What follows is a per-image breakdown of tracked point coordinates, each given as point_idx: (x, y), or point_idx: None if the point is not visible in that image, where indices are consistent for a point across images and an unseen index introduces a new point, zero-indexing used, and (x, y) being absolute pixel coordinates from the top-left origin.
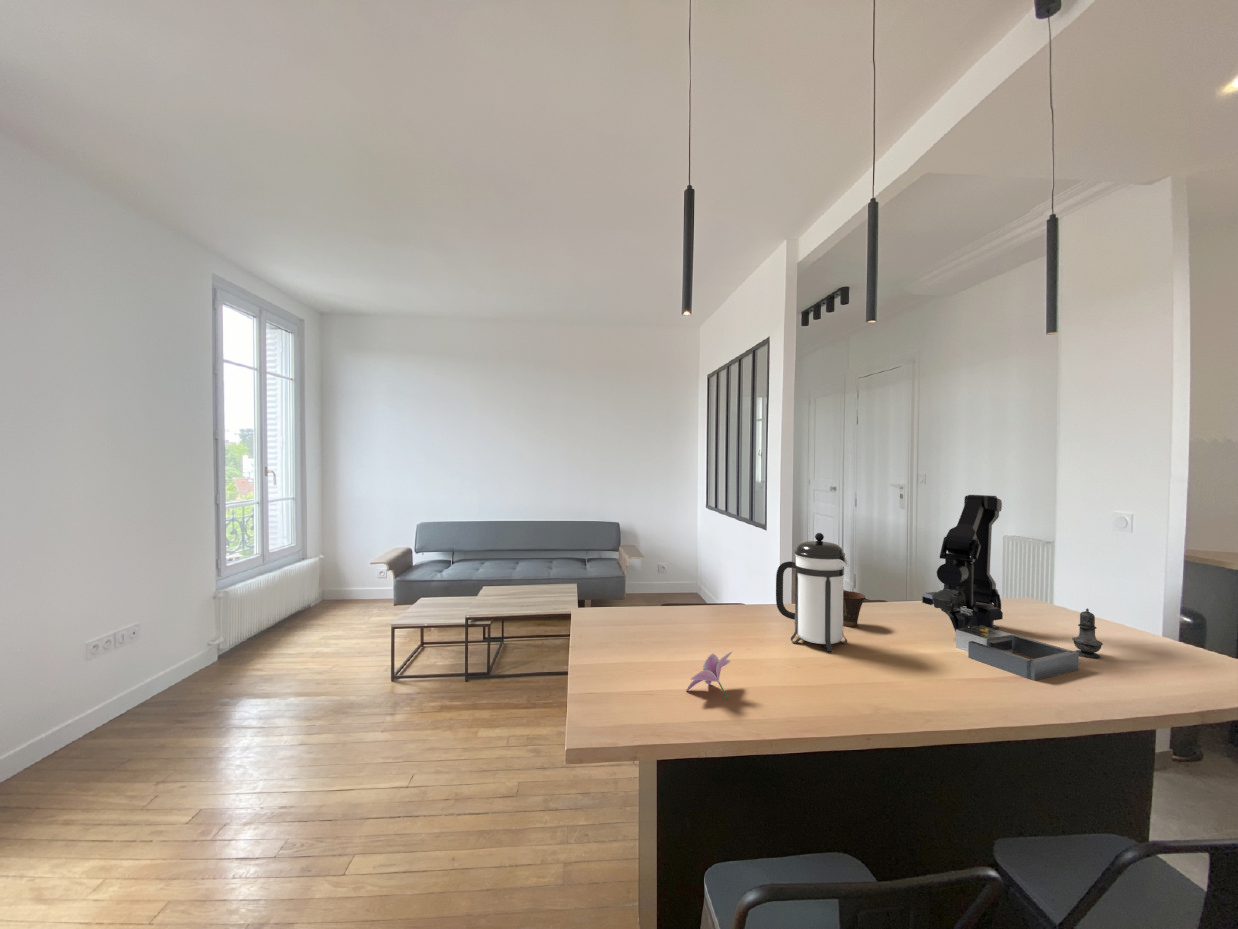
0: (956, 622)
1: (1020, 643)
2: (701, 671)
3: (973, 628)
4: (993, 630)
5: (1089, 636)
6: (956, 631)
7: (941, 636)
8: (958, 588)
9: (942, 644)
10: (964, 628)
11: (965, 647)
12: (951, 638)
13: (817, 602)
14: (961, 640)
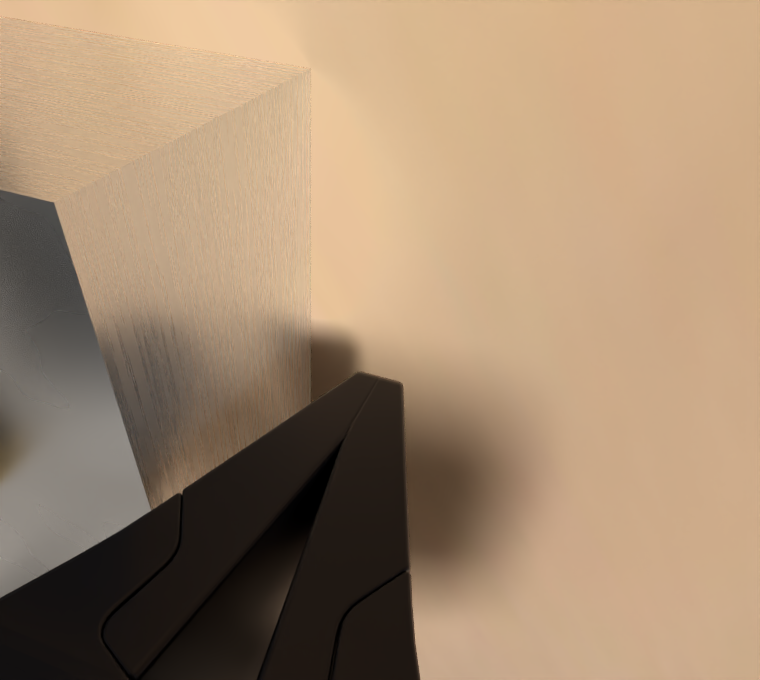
0: (284, 617)
1: None
2: None
3: (95, 539)
4: (2, 586)
5: None
6: (78, 173)
7: (722, 442)
8: None
9: (536, 5)
10: (113, 450)
11: (106, 49)
12: (574, 447)
13: None
14: (97, 87)
